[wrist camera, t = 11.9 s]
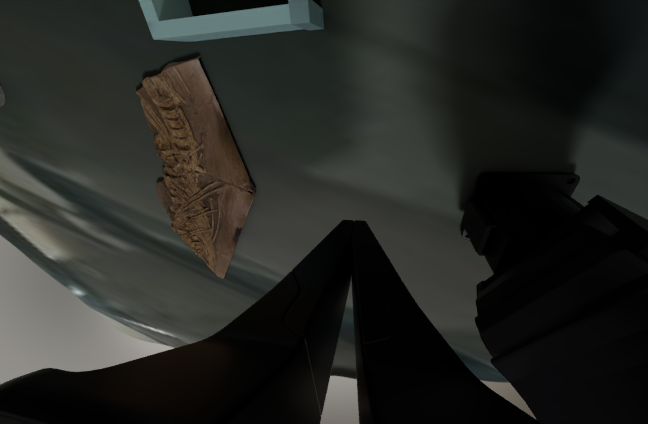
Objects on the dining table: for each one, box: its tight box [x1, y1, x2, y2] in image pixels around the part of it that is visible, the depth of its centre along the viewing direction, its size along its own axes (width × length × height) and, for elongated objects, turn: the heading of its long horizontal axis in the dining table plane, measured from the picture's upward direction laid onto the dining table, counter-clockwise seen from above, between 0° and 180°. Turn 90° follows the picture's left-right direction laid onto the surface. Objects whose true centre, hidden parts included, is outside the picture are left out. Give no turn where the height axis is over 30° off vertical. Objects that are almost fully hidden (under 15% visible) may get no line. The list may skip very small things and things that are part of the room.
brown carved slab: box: [136, 56, 256, 279], centre depth 25 cm, size 26×11×1 cm, turn 168°
